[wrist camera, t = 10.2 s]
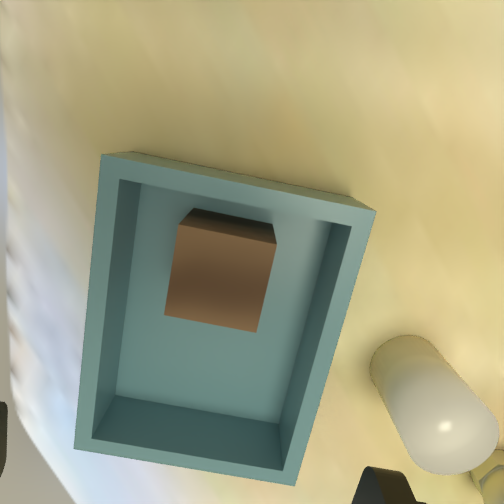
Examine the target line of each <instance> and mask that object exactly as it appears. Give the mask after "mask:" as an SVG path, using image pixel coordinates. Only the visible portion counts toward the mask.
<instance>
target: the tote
mask: <svg viewBox="0 0 504 504" xmlns="http://www.w3.org/2000/svg"><path fill="white" fill-rule="evenodd" d="M193 208H198V209H203V210H208V211H213V212H217V213H222V214H227V215H232V216H237V217H242V218H246V219H251V220H256V221H261V222H266V223H270V224H273V228H274V232H275V237H276V242H277V248H276V252H275V256H274V260H273V265H272V269H271V273H270V277H269V281H268V286H267V290H266V294H265V298H264V303H263V307H262V311H261V315H260V320H259V324H258V328H257V332H256V333H254V332H249V331H243V330H238V329H233V328H228V327H223V326H217V325H212V324H207V323H202V322H197V321H191V320H186V319H181V318H176V317H171V316H165V315H164V311H165V305H166V298H167V292H168V286H169V280H170V273H171V267H172V261H173V255H174V248H175V242H176V236H177V230H178V224H179V223H180V222H181V221H182V220H183V219H184V218H185V217H186V215H187V214H188V213H189V212H190V211H191V210H192V209H193ZM375 215H376V211H375V210H373V209H372V208H370V207H368V206H366V205H365V204H363V203H361V202H359V201H358V200H356V199H354V198H353V197H348V196H343V195H338V194H333V193H329V192H324V191H319V190H314V189H309V188H305V187H300V186H295V185H290V184H285V183H281V182H276V181H271V180H266V179H262V178H257V177H252V176H247V175H242V174H238V173H233V172H228V171H223V170H218V169H214V168H209V167H204V166H199V165H194V164H190V163H185V162H180V161H175V160H170V159H166V158H161V157H156V156H151V155H146V154H142V153H137V152H121V153H110V154H101V161H100V172H99V183H98V193H97V204H96V215H95V226H94V236H93V247H92V258H91V268H90V279H89V290H88V301H87V311H86V322H85V333H84V343H83V354H82V365H81V375H80V386H79V397H78V408H77V418H76V429H75V440H74V449H77V450H83V451H89V452H95V453H101V454H106V455H112V456H118V457H124V458H130V459H136V460H142V461H148V462H154V463H160V464H166V465H172V466H178V467H184V468H190V469H195V470H201V471H207V472H213V473H219V474H225V475H231V476H237V477H243V478H249V479H255V480H261V481H267V482H273V483H278V484H284V485H290V486H295V484H296V480H297V477H298V473H299V470H300V467H301V463H302V460H303V457H304V453H305V450H306V447H307V443H308V440H309V437H310V433H311V430H312V426H313V423H314V420H315V416H316V413H317V410H318V406H319V403H320V400H321V396H322V393H323V389H324V386H325V383H326V379H327V376H328V373H329V369H330V366H331V363H332V359H333V356H334V352H335V349H336V346H337V342H338V339H339V336H340V332H341V329H342V326H343V322H344V319H345V316H346V312H347V309H348V305H349V302H350V299H351V295H352V292H353V289H354V285H355V282H356V279H357V275H358V272H359V268H360V265H361V262H362V258H363V255H364V252H365V248H366V245H367V242H368V238H369V235H370V232H371V228H372V225H373V221H374V218H375Z"/></svg>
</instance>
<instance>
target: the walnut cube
mask: <svg viewBox="0 0 504 504" xmlns="http://www.w3.org/2000/svg"><path fill="white" fill-rule="evenodd" d="M276 248H277V242H276V237H275V232H274V228H273V224H270V223H266V222H261V221H256V220H251V219H246V218H242V217H237V216H232V215H227V214H222V213H217V212H213V211H208V210H203V209H198V208H193V209H192V210H191V211H190V212H189V213H188V214H187V215H186V217H185V218H184V219H183V220H182V221H181V222H180V223H179V224H178V230H177V236H176V242H175V248H174V255H173V261H172V267H171V273H170V280H169V286H168V292H167V298H166V305H165V311H164V315H165V316H171V317H176V318H181V319H186V320H191V321H197V322H202V323H207V324H212V325H217V326H223V327H228V328H233V329H238V330H243V331H249V332H254V333H256V332H257V328H258V324H259V320H260V315H261V311H262V307H263V303H264V298H265V294H266V290H267V286H268V281H269V277H270V273H271V269H272V265H273V260H274V256H275V252H276Z"/></svg>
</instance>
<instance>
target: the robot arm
mask: <svg viewBox="0 0 504 504" xmlns="http://www.w3.org/2000/svg"><path fill="white" fill-rule="evenodd" d="M7 414H8V410H7V405H6V403H5V402H1V401H0V477H1V474H2V472H3V469H4V466H5V462H6V451H7V450H6V449H7ZM352 504H426V503H423V502H417V501H416V499H415V497H414V495H413V492H412V490H411V488H410V486H409V483H408V481H407V479H406V477H405V476H404V474H403V473H401V472H399V471H393V470H387V469H382V468H376V467H370V466H367V467H366V468H365V469H364V471H363V473H362V476H361V478H360V481H359V484H358V487H357V490H356V492H355V495H354V498H353V501H352Z"/></svg>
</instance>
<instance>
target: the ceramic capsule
mask: <svg viewBox="0 0 504 504" xmlns="http://www.w3.org/2000/svg"><path fill="white" fill-rule="evenodd" d="M370 374H371V378H372V380H373V382H374V384H375V386H376V388H377V390H378V392H379V394H380V396H381V399H382V401H383V403H384V405H385V407H386V409H387V411H388V413H389V415H390V417H391V419H392V421H393V423H394V425H395V427H396V429H397V431H398V433H399V435H400V437H401V439H402V441H403V443H404V445H405V447H406V449H407V451H408V453H409V455H410V457H411V459H412V460H413V461H414V463H415V464H416V465H418V466H419V467H420V468H422V469H423V470H425V471H427V472H430V473H433V474H438V475H456V474H461V473H464V472H467V471H470V470H472V469H474V468H476V467H478V466H479V465H480V464H482V463H483V462H484V461H485V460H487V459H488V457H489V456H490V455H491V454H492V453H493V451H494V449H495V448H496V445H497V443H498V439H499V425H498V422H497V420H496V418H495V416H494V415H493V413H492V412H491V411H490V410H489V409H488V408H487V406H486V405H485V404H484V403H483V402H482V401H481V400H480V398H479V397H478V396H477V395H476V394H475V393H474V391H473V390H472V389H471V388H470V387H469V386H468V385H467V383H466V382H465V381H464V380H463V379H462V378H461V377H460V375H459V374H458V373H457V372H456V371H455V370H454V369H453V367H452V366H451V365H450V364H449V363H448V362H447V361H446V359H445V358H444V357H443V356H442V355H441V354H440V353H439V351H438V350H437V349H436V348H435V347H434V346H433V345H432V344H431V343H430V342H429V341H427V340H426V339H424V338H421V337H418V336H412V335H405V336H399V337H396V338H393V339H391V340H389V341H387V342H385V343H384V344H383V345H381V346H380V347H379V348H378V349H377V351H376V352H375V354H374V355H373V357H372V360H371V364H370Z"/></svg>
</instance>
